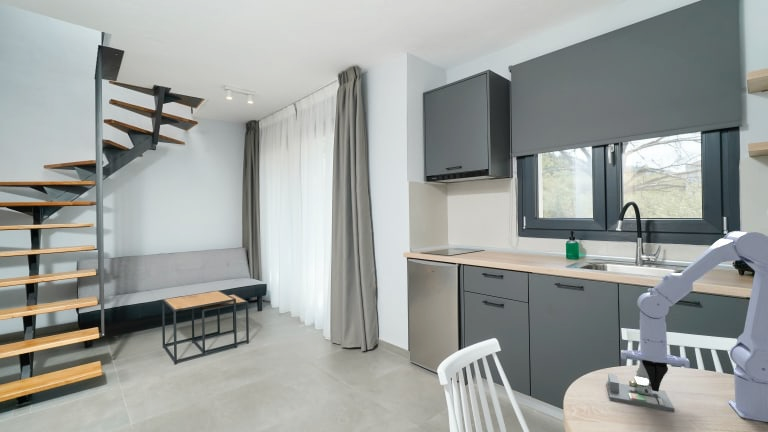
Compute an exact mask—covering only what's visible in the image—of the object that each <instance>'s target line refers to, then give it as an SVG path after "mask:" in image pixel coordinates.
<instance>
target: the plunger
mask: <svg viewBox="0 0 768 432" xmlns="http://www.w3.org/2000/svg"><path fill="white" fill-rule="evenodd" d="M628 385H629V386H630V387H635V388H636V390H637V393H639V394H645V395H650V396H652V388H651V383H650V381H649V380H648V378H641V377H637V376H634V381H632V380H628Z"/></svg>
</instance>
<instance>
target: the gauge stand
mask: <svg viewBox="0 0 768 432" xmlns="http://www.w3.org/2000/svg"><path fill="white" fill-rule="evenodd" d="M607 375H608V377H607V378H608V380H606V388H607V393H608V397H609V400H610V401H616V402H621V403H626V404H629V405H630V404H631V405H636V406H637V405H638V406H641V407H647V408H653V409H658V410H663V411H668V412H674V413H675V412H676V410H675V406H674V405H673V403H672V401H671V399H670V398H669V395H668V394H667V392H666V391H665V389H664V390H662V389H659V392H657V391H653V390H652V396H650V395H645V394H639V393H637V390H636V388H635V387H630V386H629V384H625V383H620V382H619V379H618V374H617V373H609V372H608V373H607Z"/></svg>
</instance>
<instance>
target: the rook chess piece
mask: <svg viewBox="0 0 768 432" xmlns="http://www.w3.org/2000/svg"><path fill="white" fill-rule="evenodd" d="M638 351H641V350H638ZM635 373H636V376H635V377H641V378H648V380H649V376H648V374H647V371H646V369H645V367H644V366H643V364H642V361H639V366H638V368H637V370H636V372H635ZM649 382H650V380H649Z"/></svg>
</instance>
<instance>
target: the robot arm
mask: <svg viewBox="0 0 768 432" xmlns="http://www.w3.org/2000/svg"><path fill="white" fill-rule="evenodd" d="M741 260H742V261H743V262H744V263H746V264H747V265H748V266H749V267H750V268H751V269H752V270H753V271H754V276H753V281H752V282H753V283H752V285H751V286H752V287H751V292H750V296H749V302H748V308H747V313H746V318H745V324H744V327H743V332H742V333H741V334H740V335H738V337H737V339H736V343H735V344H734V345H733V346H732V347H731V348H730V351H729V356H730V360H731V361H732V362H733V363H734V364H736V365H735V368H734V369H733V376H734V378H733V380H734V400H728V401H727V402H728V404H729V405H730V406H731V408H733V410H734V411H735V412H736V413H737V415H738V416H739V417H740V418H743V419H747V420H755V421H759V422H765V423H768V236H767V235H766V234H764V233H761V232H755V231H752V232H751V231H750V232H749V231H748V232H747V231H744V230H734V231H731V232H728V233H727V234H725V236H724V237H723V238H720V239H718V240H716V241H715V242H714V243H713V244H712V245H710V247H708V249H706V250H705V251H704V252H703V253H702V254H701V255H699V256H698V257H697V258H696V259H695V260H693V262H691V263H690V264H689V265H688V266H687V267H686V268H684V269H683V270H682V271H681V272H680V273H677V272H675V273H674V272H673V273H670V274H669V275H667V274H664V275H662V277H661V279H662V280H661V281H660V282H658V283H657V284H656V285H655V286H653V287H652V288H651V287H649V288H648V289H647V291H648V292H644V293H641V295H640V296H639V297H638V298H637V301H636V304H637V307H638V308H639V338H640V339H639V343H640V344H639V345H640V348H639V349H640V350H641V351H639V350H625V349H622V350H621V349H620V357H621V360H633V361H639V362H640V361H642V364H643V366H644V367H645V369H646V371H647V374H648V376H649V380H650V381H649V382H650V384H651V389H652V390H653V391H657V392H659V390H660V386H661V383H662V381H663V378H664V377H665V375H666V374H667V373H668V370H669V367H668V365H669V366H677V367H683V368H684V369H690V368H691V366H690V365H691V363H690V360H689V358H686V357H680V356H675V355H671V354H668V341H667V339H668V338H667V322H666V316H667V315H668V313H669V311H670V307H673V306H674V305H676V303H677V302H679V301H680V300H681V299H683V298H684V297H685V296H687V295H688V294H689V293H690V292H692V291H693V290H694V286H693V285H694V284H693V283H694V282H696V281H697V280H699V279H700V278H701V277H703V276H704V275H706V274H708V273H709V272H710V271H711V270H713V269H714V268H716V267H717V266H719V265H720V264H721V263H727V262H734V261H741Z"/></svg>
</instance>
